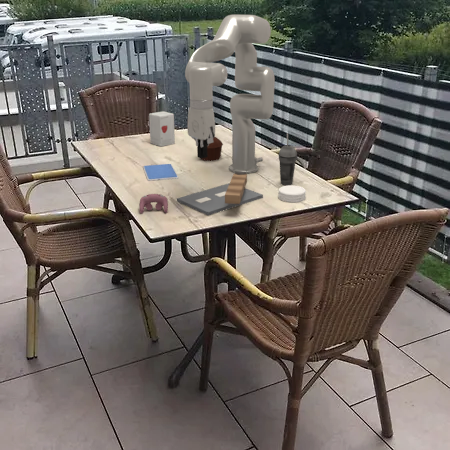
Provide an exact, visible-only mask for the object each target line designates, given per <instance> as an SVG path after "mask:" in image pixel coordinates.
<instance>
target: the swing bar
mask: <svg viewBox="0 0 450 450" xmlns="http://www.w3.org/2000/svg"><path fill="white" fill-rule="evenodd" d="M247 182H248V173H246V172H243V171H238V172H235V173H233V175H232V176H231V179H230V182H229V183H230V184H229V186H228V189H227V191H226V193H225V203H231V204H240V201H241V198H242V195H243V192H244V189H245V188H246V186H247Z"/></svg>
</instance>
